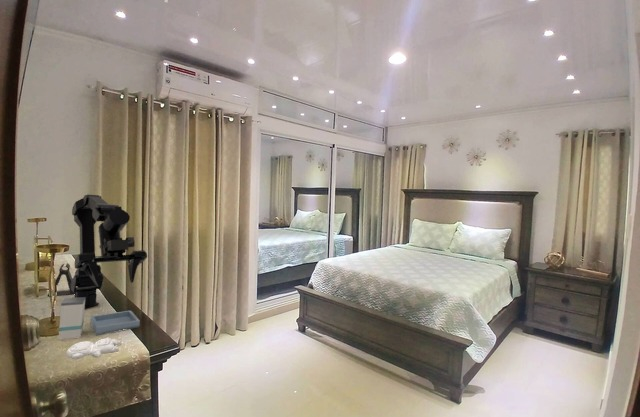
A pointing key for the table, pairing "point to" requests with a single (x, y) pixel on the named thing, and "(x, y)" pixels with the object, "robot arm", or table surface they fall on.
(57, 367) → the table surface
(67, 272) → the phone stand
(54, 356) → the table surface
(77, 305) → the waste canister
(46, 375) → the table surface
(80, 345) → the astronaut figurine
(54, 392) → the table surface
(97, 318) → the drip tray
